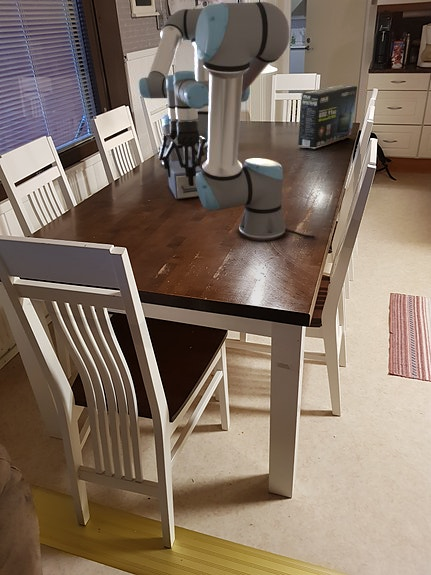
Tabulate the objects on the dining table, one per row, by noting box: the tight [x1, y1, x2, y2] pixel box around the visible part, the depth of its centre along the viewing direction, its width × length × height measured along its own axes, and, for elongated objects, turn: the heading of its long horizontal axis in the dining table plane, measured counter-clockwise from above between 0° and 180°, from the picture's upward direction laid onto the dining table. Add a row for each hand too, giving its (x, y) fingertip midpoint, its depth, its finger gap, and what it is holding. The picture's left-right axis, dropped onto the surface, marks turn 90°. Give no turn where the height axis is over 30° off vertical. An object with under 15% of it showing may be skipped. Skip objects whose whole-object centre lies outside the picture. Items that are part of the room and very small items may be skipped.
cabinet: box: [168, 160, 202, 200], centre depth 185 cm, size 17×11×10 cm, turn 14°
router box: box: [297, 84, 358, 151], centre depth 238 cm, size 36×11×27 cm, turn 134°
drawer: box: [176, 173, 199, 199], centre depth 180 cm, size 21×10×8 cm, turn 14°
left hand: (183, 174), depth 188 cm, fingers closed on cabinet, 11 cm apart
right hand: (191, 184), depth 173 cm, fingers closed
